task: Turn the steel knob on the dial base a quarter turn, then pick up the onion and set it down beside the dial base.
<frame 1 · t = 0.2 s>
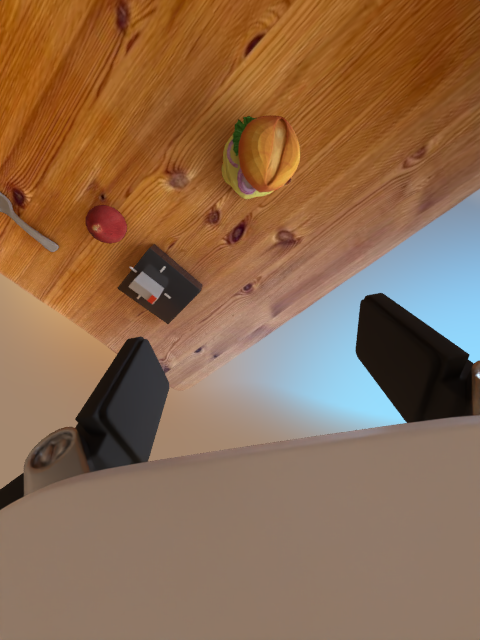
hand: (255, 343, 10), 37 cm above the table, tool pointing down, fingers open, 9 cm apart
onion: (116, 221, 41), on the table
knob: (147, 287, 42), point 5 cm above the table, hinge at 0.0°
cheeseburger: (255, 161, 37), on the table
dial base: (163, 283, 47), on the table
spoon: (27, 221, 40), on the table
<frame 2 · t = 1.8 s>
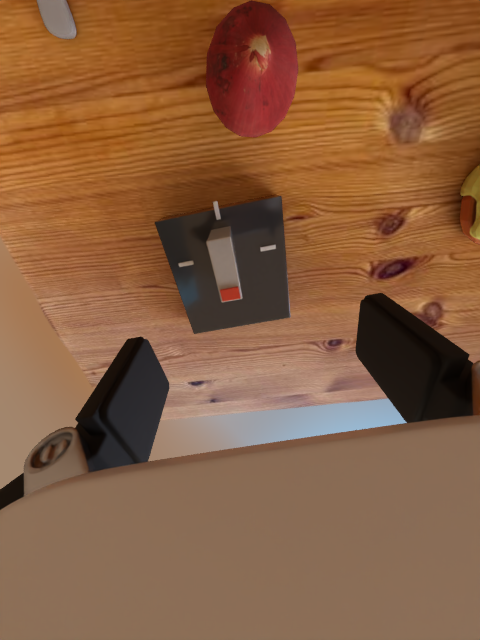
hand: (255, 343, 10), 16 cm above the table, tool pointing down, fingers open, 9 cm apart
onion: (247, 98, 18), on the table
knob: (226, 263, 19), point 5 cm above the table, hinge at 0.0°
dial base: (230, 266, 25), on the table
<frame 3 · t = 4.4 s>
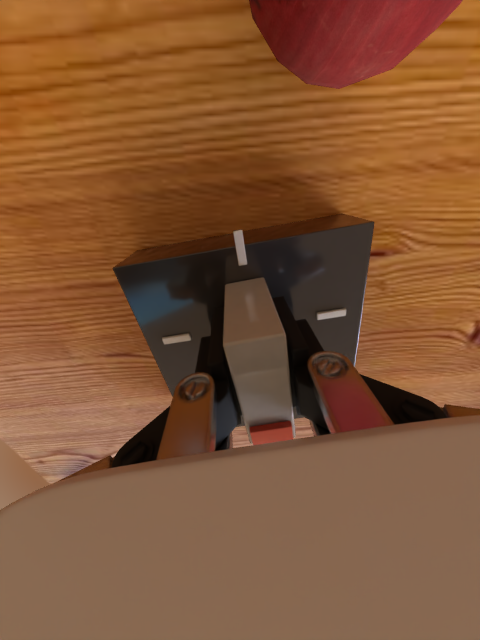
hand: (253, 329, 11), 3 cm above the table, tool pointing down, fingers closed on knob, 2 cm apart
onion: (313, 12, 8), on the table
knob: (258, 357, 9), point 5 cm above the table, hinge at 1.3°, touching gripper
dial base: (252, 326, 15), on the table
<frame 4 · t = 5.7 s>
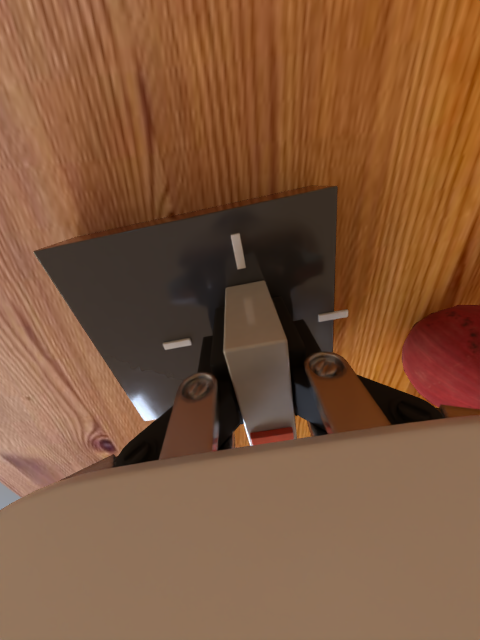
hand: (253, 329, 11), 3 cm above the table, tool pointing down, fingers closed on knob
onion: (417, 322, 15), on the table
knob: (258, 361, 9), point 5 cm above the table, hinge at 89.7°, touching gripper
dial base: (216, 308, 14), on the table
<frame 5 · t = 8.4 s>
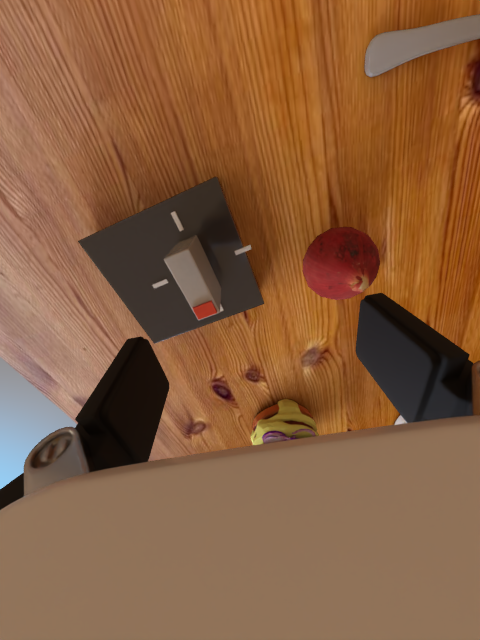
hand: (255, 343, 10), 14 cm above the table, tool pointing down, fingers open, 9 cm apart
onion: (322, 252, 22), on the table
knob: (197, 277, 17), point 5 cm above the table, hinge at 89.8°
cheeseburger: (281, 419, 36), on the table
dial base: (185, 264, 22), on the table
spoon: (451, 41, 15), on the table
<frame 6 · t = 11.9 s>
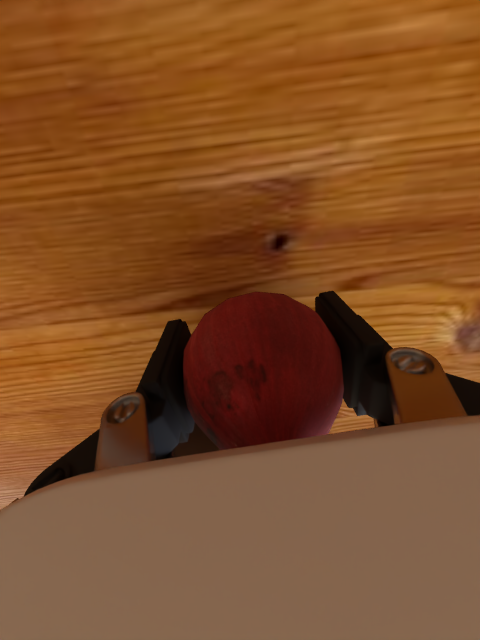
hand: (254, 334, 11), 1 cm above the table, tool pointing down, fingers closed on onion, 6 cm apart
onion: (251, 317, 12), on the table, touching gripper
dial base: (228, 459, 19), on the table
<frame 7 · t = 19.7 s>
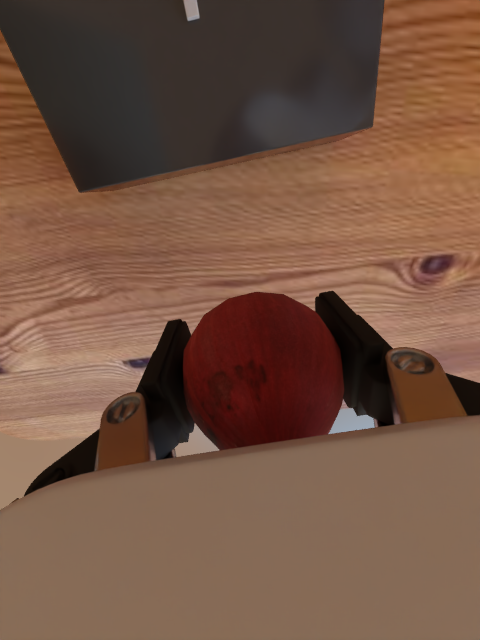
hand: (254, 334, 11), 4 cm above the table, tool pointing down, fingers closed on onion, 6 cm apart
onion: (251, 317, 12), point 3 cm above the table, touching gripper
when the fingers open (1 cm above the table, at t = 21.0 s): onion stays where it is, on the table.
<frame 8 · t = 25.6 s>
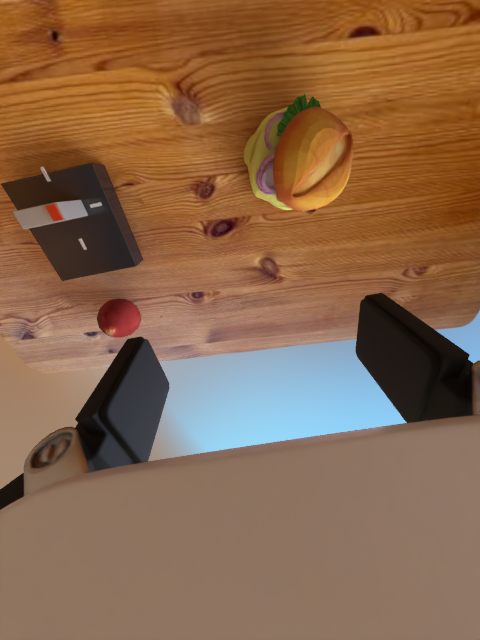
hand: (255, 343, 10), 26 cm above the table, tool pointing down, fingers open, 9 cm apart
onion: (129, 306, 38), on the table
knob: (52, 213, 26), point 5 cm above the table, hinge at 89.8°
cheeseburger: (288, 163, 29), on the table
dial base: (87, 225, 31), on the table
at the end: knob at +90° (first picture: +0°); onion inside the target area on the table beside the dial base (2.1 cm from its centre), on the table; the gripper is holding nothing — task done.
